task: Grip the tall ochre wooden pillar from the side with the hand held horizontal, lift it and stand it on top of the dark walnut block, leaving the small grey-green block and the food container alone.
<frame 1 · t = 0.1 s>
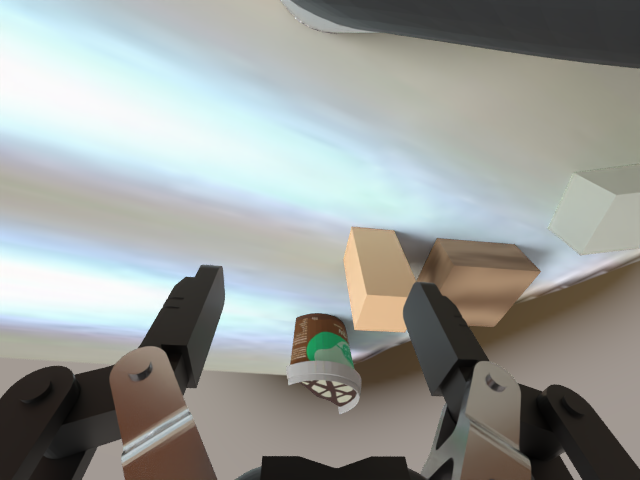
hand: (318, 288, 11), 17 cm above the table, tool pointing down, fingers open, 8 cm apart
grey block: (591, 197, 30), on the table
ochre pillar: (367, 245, 32), on the table
food container: (330, 324, 42), on the table
walnut block: (457, 269, 36), on the table
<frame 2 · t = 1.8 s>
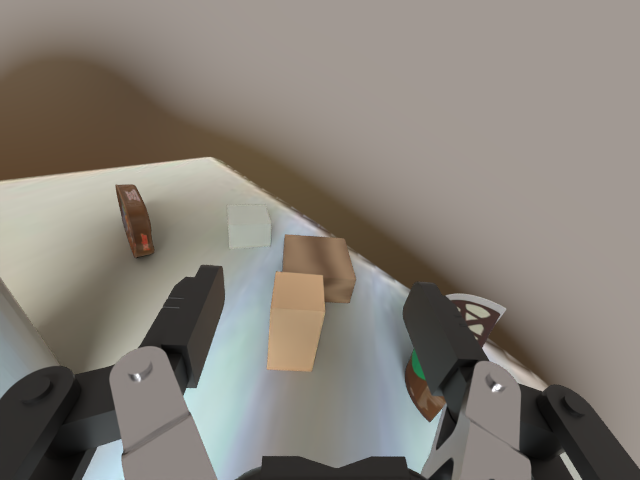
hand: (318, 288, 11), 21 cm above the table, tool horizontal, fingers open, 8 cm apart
tin: (140, 241, 45), on the table
grey block: (248, 237, 50), on the table
ochre pillar: (290, 350, 32), on the table
food container: (423, 373, 33), on the table
walnut block: (313, 279, 44), on the table
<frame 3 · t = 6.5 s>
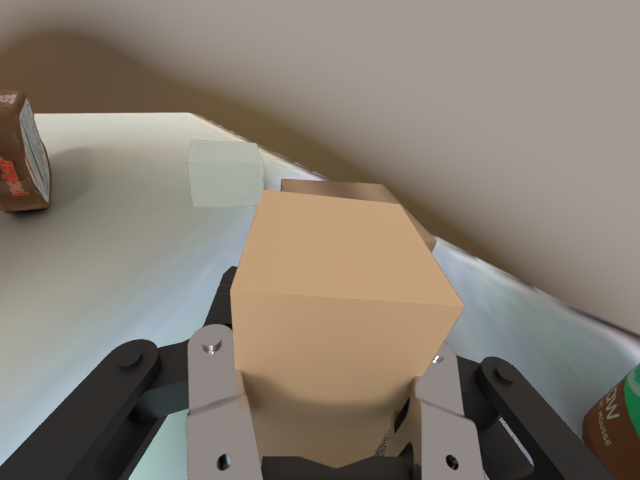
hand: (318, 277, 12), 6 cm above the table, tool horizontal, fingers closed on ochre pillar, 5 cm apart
tin: (38, 193, 26), on the table
grey block: (228, 194, 31), on the table
ochre pillar: (304, 406, 13), on the table, touching gripper
food container: (626, 459, 13), on the table
walnut block: (338, 255, 24), on the table
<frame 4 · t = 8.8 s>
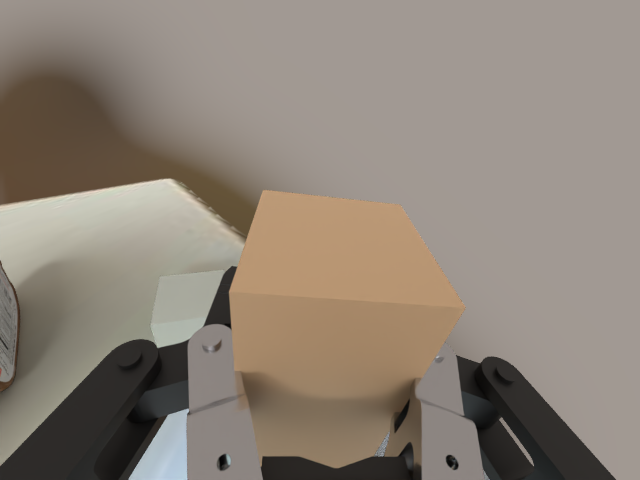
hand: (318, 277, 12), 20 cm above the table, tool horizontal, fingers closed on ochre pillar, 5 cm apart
tin: (5, 349, 27), on the table
grey block: (197, 323, 32), on the table
ochre pillar: (304, 407, 13), point 14 cm above the table, touching gripper
when the fingers open (12 cm above the table, at t = 11.6 s): ochre pillar drops 1 cm, resting on walnut block.
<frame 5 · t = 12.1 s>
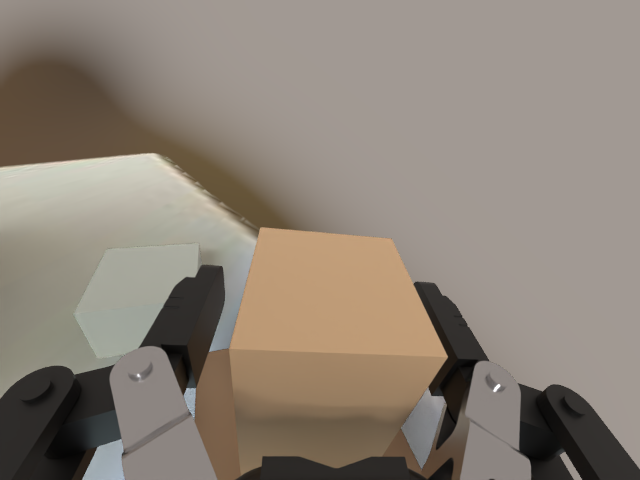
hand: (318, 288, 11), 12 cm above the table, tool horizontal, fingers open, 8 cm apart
grey block: (160, 315, 24), on the table
ochre pillar: (302, 426, 14), point 5 cm above the table, touching walnut block
walnut block: (292, 457, 17), on the table, touching ochre pillar
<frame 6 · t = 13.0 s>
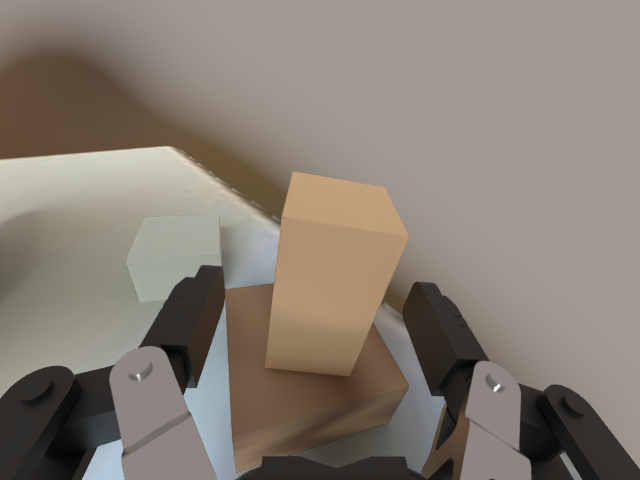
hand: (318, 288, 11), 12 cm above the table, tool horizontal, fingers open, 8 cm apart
grey block: (186, 274, 28), on the table
ochre pillar: (309, 336, 18), point 5 cm above the table, touching walnut block
walnut block: (299, 373, 21), on the table, touching ochre pillar
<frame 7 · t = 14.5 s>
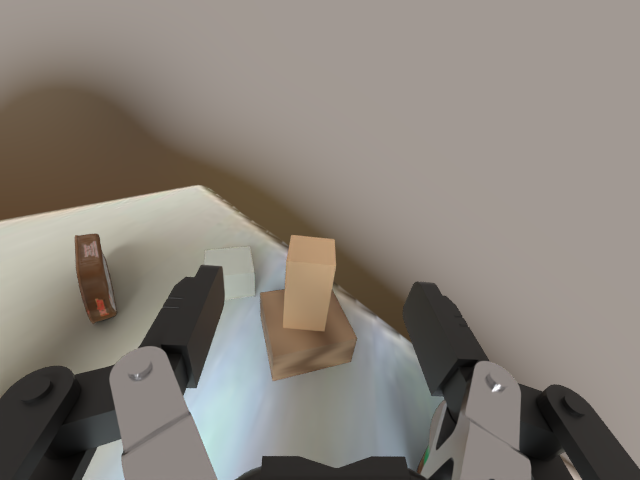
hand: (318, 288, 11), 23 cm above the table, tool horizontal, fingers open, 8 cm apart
tin: (105, 297, 40), on the table
grey block: (231, 284, 44), on the table
ochre pillar: (304, 313, 35), point 5 cm above the table
food container: (438, 479, 25), on the table
walnut block: (302, 339, 37), on the table
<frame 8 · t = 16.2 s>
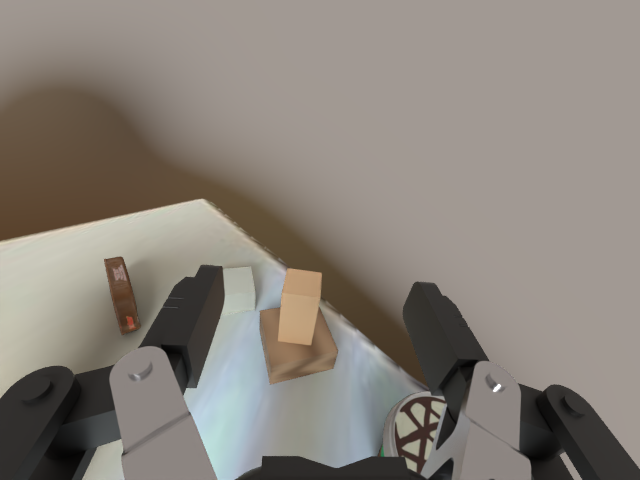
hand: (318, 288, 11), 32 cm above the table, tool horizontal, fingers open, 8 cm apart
tin: (128, 310, 47), on the table
grey block: (234, 299, 52), on the table
ochre pillar: (296, 329, 42), point 5 cm above the table
food container: (394, 460, 34), on the table
walnut block: (294, 349, 45), on the table
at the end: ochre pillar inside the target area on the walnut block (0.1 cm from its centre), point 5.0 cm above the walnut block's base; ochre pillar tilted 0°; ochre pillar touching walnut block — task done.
